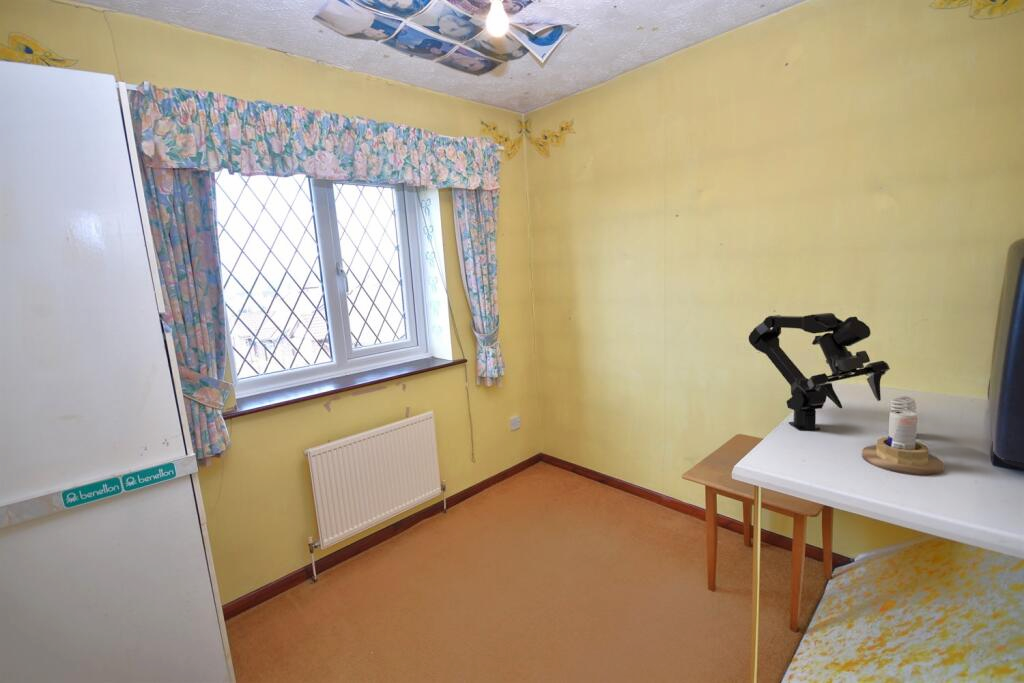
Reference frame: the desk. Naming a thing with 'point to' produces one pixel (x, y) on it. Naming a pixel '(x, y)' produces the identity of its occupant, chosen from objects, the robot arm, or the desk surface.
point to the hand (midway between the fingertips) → (860, 404)
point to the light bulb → (899, 403)
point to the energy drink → (902, 429)
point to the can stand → (903, 459)
